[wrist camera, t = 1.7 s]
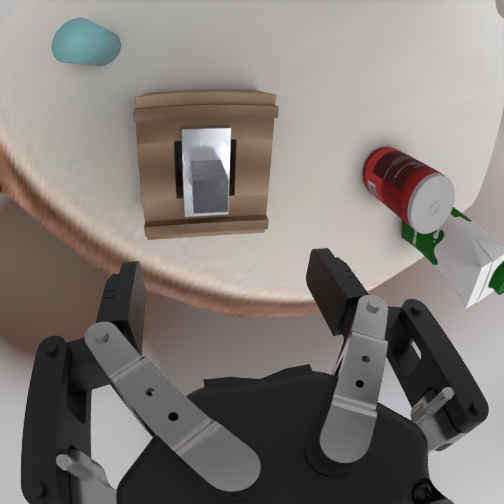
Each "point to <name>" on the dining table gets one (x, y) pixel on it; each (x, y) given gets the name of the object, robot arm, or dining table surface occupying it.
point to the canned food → (410, 189)
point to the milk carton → (463, 256)
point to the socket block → (241, 159)
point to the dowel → (85, 43)
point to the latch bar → (206, 170)
